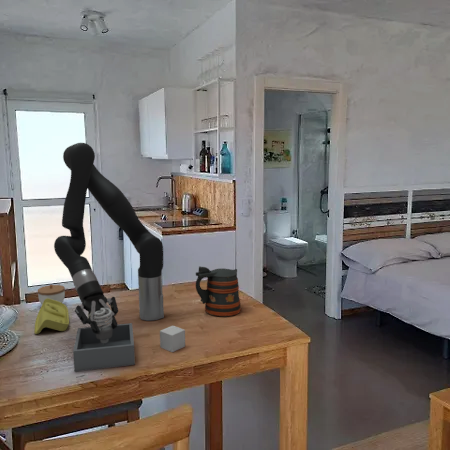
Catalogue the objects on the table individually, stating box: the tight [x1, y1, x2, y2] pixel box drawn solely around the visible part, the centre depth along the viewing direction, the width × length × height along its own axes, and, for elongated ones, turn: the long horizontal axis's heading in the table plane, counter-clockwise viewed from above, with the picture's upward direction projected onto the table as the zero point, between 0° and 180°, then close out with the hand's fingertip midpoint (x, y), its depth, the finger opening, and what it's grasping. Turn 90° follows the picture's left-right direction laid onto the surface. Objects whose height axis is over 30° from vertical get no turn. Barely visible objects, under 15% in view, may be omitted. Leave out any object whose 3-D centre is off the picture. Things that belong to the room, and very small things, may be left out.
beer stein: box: [195, 266, 242, 317], centre depth 184 cm, size 19×15×20 cm
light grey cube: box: [159, 325, 186, 353], centre depth 154 cm, size 6×6×6 cm
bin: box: [72, 322, 136, 372], centre depth 148 cm, size 18×18×6 cm
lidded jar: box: [37, 284, 66, 305], centre depth 192 cm, size 11×11×9 cm
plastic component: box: [34, 298, 70, 335], centre depth 174 cm, size 20×7×10 cm
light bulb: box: [94, 308, 113, 344], centre depth 147 cm, size 6×6×12 cm
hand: (106, 330), depth 145 cm, fingers closed on light bulb, 5 cm apart
